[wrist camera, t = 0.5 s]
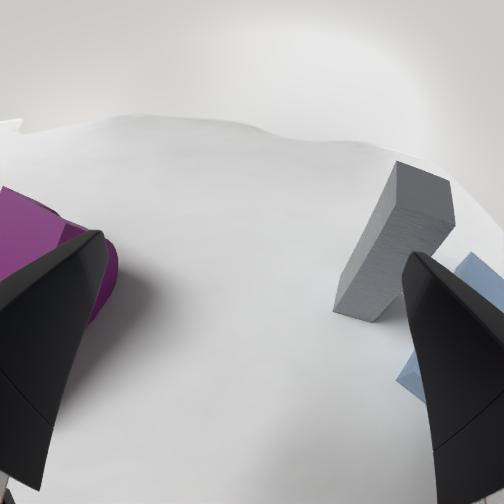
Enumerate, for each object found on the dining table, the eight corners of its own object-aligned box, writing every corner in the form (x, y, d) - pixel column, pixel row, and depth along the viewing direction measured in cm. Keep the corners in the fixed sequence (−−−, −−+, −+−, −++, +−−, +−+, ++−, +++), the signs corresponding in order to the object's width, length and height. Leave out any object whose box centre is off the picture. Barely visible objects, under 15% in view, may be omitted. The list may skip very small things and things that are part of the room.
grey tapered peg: (372, 322, 25) (455, 225, 14) (332, 311, 25) (395, 203, 14) (377, 286, 26) (449, 180, 16) (340, 275, 27) (396, 160, 16)
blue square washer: (496, 458, 17) (517, 455, 14) (395, 380, 22) (413, 371, 19) (537, 341, 23) (555, 330, 20) (456, 267, 28) (471, 251, 25)
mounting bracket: (70, 418, 24) (130, 247, 26) (10, 440, 16) (66, 223, 17) (14, 366, 26) (63, 212, 28) (-44, 371, 18) (3, 185, 19)
